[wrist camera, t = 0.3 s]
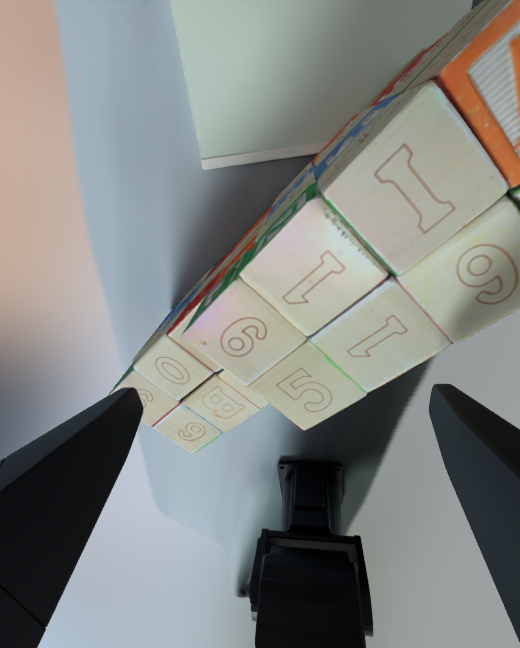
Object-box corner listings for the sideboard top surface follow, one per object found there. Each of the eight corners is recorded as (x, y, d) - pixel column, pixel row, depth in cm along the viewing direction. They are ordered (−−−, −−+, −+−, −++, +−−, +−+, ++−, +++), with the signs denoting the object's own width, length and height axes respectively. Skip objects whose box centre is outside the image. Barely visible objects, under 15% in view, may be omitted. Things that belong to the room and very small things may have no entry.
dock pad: (451, 134, 17) (488, 131, 13) (204, 170, 19) (181, 175, 16) (502, -216, 11) (586, -373, 8) (151, -102, 14) (99, -184, 10)
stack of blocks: (225, 361, 26) (171, 507, 16) (167, 313, 25) (63, 443, 14) (475, 157, 17) (755, 192, 6) (408, 56, 15) (640, -131, 5)
